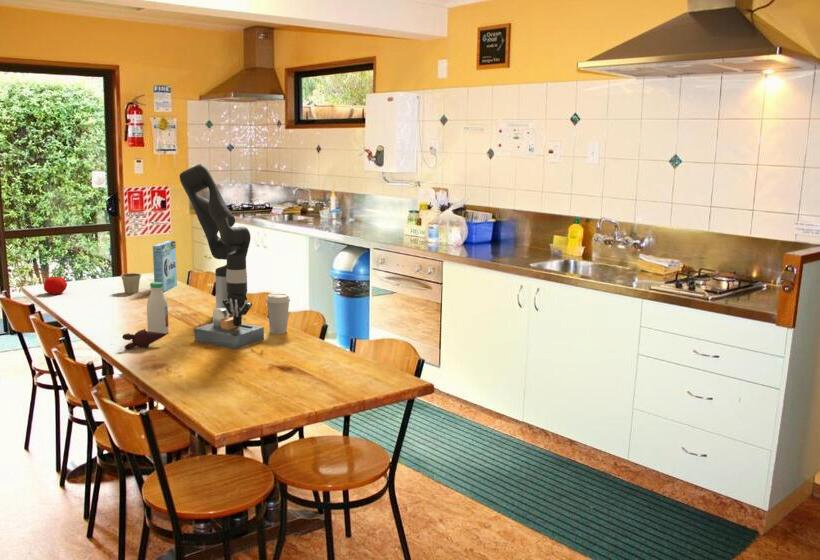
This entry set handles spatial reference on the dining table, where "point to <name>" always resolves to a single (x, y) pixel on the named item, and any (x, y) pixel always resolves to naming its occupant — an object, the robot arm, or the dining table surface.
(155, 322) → the milk bottle
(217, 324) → the grey white cylinder
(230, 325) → the block
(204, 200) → the robot arm
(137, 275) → the flower pot
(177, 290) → the dining table surface
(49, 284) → the tomato
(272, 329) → the coffee cup
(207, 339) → the jig
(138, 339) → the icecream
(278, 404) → the dining table surface
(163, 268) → the gum box
